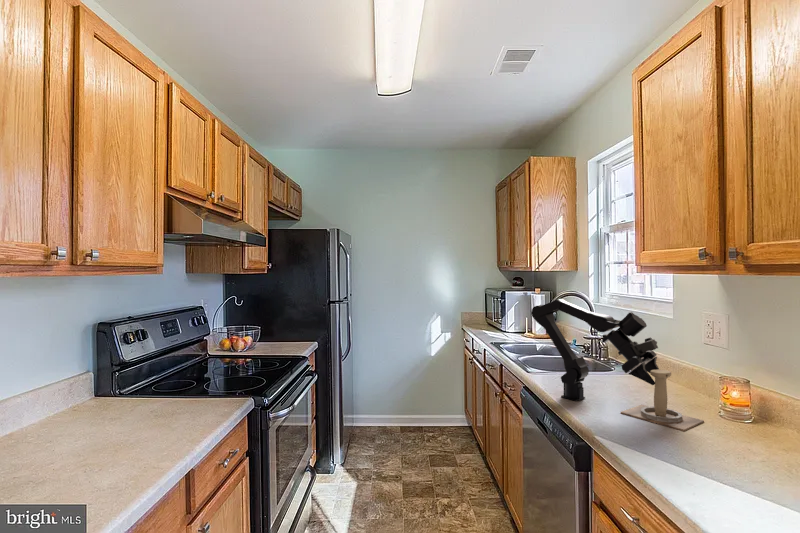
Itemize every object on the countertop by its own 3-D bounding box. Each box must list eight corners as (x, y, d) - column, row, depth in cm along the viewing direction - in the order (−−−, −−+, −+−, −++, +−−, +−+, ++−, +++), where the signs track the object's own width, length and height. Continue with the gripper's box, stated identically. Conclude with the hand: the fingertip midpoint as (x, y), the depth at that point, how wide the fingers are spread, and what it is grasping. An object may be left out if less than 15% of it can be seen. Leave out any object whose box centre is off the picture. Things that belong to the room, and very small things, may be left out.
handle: (674, 417, 146) (674, 372, 146) (658, 419, 144) (659, 373, 144) (662, 412, 150) (662, 369, 150) (646, 414, 149) (647, 370, 148)
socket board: (620, 413, 151) (620, 408, 151) (641, 405, 159) (641, 401, 159) (683, 431, 135) (683, 425, 135) (704, 422, 143) (704, 416, 143)
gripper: (631, 333, 145) (669, 372, 137) (650, 327, 158) (686, 363, 150) (607, 353, 150) (642, 392, 143) (627, 346, 163) (660, 381, 155)
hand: (658, 381), depth 147 cm, fingers open, 9 cm apart
